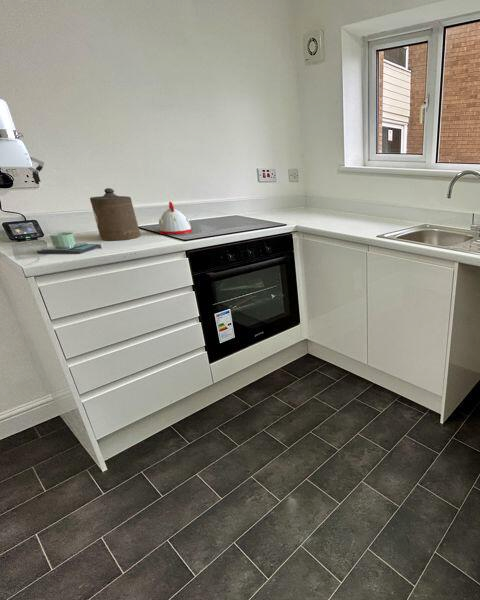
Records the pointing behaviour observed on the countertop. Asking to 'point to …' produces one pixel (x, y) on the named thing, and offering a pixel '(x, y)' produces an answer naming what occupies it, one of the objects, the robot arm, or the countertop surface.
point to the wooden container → (115, 216)
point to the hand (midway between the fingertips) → (20, 184)
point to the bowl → (63, 239)
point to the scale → (70, 249)
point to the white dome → (173, 222)
